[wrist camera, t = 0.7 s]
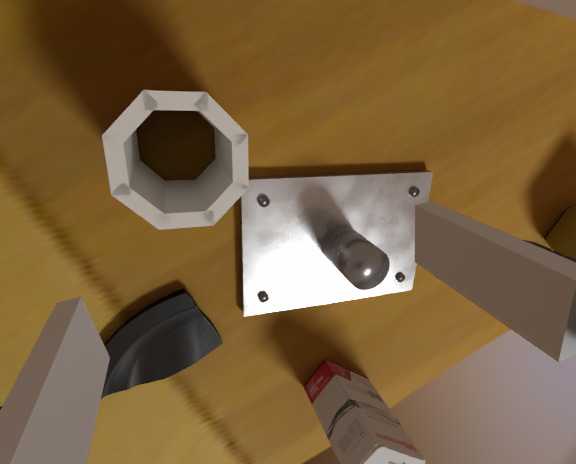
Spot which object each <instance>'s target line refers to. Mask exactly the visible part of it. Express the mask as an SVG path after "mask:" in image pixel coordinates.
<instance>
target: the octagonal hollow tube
mask: <svg viewBox="0 0 576 464" xmlns="http://www.w3.org/2000/svg"><path fill="white" fill-rule="evenodd" d="M153 110H178V111H197V112H198V113H199V114H200V115H201V116H202V117H203V118H204V119H205V120H206V121H207V122H208V123H209V124H210V125H211V126H212V127H213V128H214V138H215V159H214V160H213V161H212V162H211V164H210V165H209V166H208V167H207V168H206V169H205V170H204V171H203V172H202V173H201V174H200V175H199V176H198V177H197V178H196V179H193V180H168V181H165V180H164V179H163V178H161V177H160V176H159V175H158V174H156V173H155V172H154V171H153V170H152V169H150V168H149V167H148V166H147V165H145V164H144V163H143V162H142V161H140V156H139V148H138V140H137V132H136V129H137V128H138V127H139V125H140V124H141V123H142V122H143V121H144V120H145V119H146V118H147V117H148V116H149V115H150V113H151V112H152V111H153ZM102 139H103V145H104V151H105V158H106V164H107V170H108V176H109V183H110V189H111V195H112V196H113V197H115V198H116V199H118V200H119V201H120V202H122V203H123V204H124V205H126V206H127V207H129V208H130V209H131V210H133V211H134V212H135V213H137V214H138V215H140V216H141V217H142V218H144V219H145V220H146V221H148V222H149V223H150V224H152V225H153V226H155V227H156V228H157V229H158V230H161V229H174V228H187V227H199V226H213V225H214V224H215V223H216V222H217V221H218V220H219V219H220V218H221V217H222V216H223V215H224V214H225V213H226V212H227V210H228V209H229V208H230V207H231V206H232V205H233V204H234V203H235V202H236V201H237V200H238V199H239V198H240V197H241V196H242V195H243V194H244V193H245V192H246V190H247V189H249V178H248V134H247V133H246V132H245V131H244V130H243V129H242V128H241V127H240V126H239V125H238V124H237V123H236V122H235V121H234V120H233V119H232V118H231V117H230V116H229V115H228V114H227V113H226V112H225V111H224V110H223V109H222V108H221V107H220V106H219V105H218V104H217V103H216V102H215V100H214V99H213V98H212V97H211V96H210V95H209V94H208V93H207V92H201V91H195V92H185V91H152V90H142V92H141V93H140V94H139V95H138V97H137V98H136V99H135V100H134V101H133V102H132V103H131V104H130V105H129V106H128V108H127V109H126V110H125V111H124V112H123V113H122V114H121V115H120V116H119V117H118V119H117V120H116V121H115V122H114V123H113V124H112V125H111V126H110V127H109V128H108V130H107V131H106V132H105V133H104V134H102Z"/></svg>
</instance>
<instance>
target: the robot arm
mask: <svg viewBox="0 0 576 464" xmlns="http://www.w3.org/2000/svg"><path fill="white" fill-rule="evenodd" d="M415 262H416V263H417V264H418V265H420V266H421V267H423V268H424V269H426V270H427V271H428V272H430V273H431V274H433V275H434V276H436V277H437V278H439V279H440V280H441V281H443V282H444V283H446V284H447V285H449V286H450V287H451V288H453V289H454V290H456V291H457V292H459V293H460V294H461V295H463V296H464V297H466V298H467V299H469V300H470V301H472V302H473V303H474V304H476V305H477V306H479V307H480V308H482V309H483V310H484V311H486V312H487V313H489V314H490V315H492V316H493V317H494V318H496V319H497V320H499V321H500V322H502V323H503V324H505V325H506V326H507V327H509V328H510V329H512V330H513V331H515V332H516V333H517V334H519V335H520V336H522V337H523V338H525V339H526V340H527V341H529V342H530V343H532V344H533V345H535V346H536V347H538V348H539V349H540V350H542V351H543V352H545V353H546V354H548V355H549V356H550V357H552V358H553V359H555V360H556V361H558V362H559V361H562V360H564V359H566V358H569V357H571V356H573V355H576V259H574V258H571V257H569V256H564V254H562V253H559V252H557V251H552V250H551V249H549V248H547V247H545V246H542V245H540V244H537V243H534V242H530V241H525V240H521V239H519V238H517V237H514V236H512V235H510V234H507V233H505V232H502V231H500V230H498V229H495V228H493V227H491V226H488V225H486V224H483V223H481V222H479V221H476V220H474V219H472V218H469V217H467V216H465V215H462V214H460V213H457V212H455V211H453V210H450V209H448V208H446V207H443V206H441V205H439V204H436V203H434V202H431V201H429V202H425V203H421V204H418V205H415ZM109 360H110V357H109V354H108V352H107V350H106V348H105V346H104V344H103V342H102V340H101V338H100V335H99V333H98V331H97V329H96V327H95V325H94V323H93V321H92V318H91V316H90V314H89V312H88V310H87V308H86V306H85V304H84V302H83V299H82V297H78V298H74V299H71V300H67V301H63V302H60V303H57V304H56V306H55V307H54V309H53V311H52V313H51V315H50V317H49V319H48V321H47V323H46V325H45V326H44V328H43V330H42V332H41V334H40V336H39V338H38V340H37V342H36V343H35V345H34V347H33V349H32V351H31V353H30V355H29V357H28V359H27V361H26V362H25V364H24V366H23V368H22V370H21V372H20V374H19V376H18V378H17V380H16V381H15V383H14V385H13V387H12V389H11V391H10V393H9V395H8V397H7V398H6V400H5V402H4V404H3V406H1V407H0V464H87V459H88V455H89V450H90V446H91V441H92V437H93V432H94V428H95V423H96V419H97V414H98V410H99V405H100V401H101V396H102V392H103V387H104V382H105V378H106V373H107V369H108V364H109Z"/></svg>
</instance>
